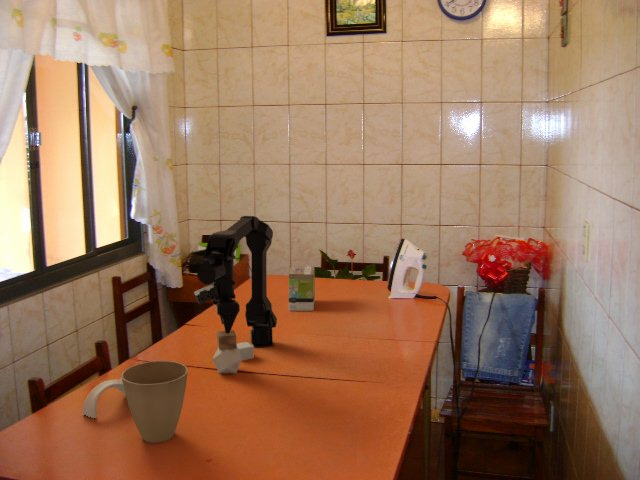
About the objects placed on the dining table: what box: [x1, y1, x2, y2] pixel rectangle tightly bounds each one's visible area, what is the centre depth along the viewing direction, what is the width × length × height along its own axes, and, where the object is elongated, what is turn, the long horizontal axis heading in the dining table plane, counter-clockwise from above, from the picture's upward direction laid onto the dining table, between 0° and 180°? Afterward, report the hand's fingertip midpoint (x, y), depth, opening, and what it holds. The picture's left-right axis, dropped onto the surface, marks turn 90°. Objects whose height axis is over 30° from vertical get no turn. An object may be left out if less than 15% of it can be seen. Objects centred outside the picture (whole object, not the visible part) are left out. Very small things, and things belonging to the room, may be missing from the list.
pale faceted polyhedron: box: [212, 345, 243, 374], centre depth 204 cm, size 8×9×10 cm
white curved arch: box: [82, 378, 126, 419], centre depth 183 cm, size 24×12×7 cm, turn 148°
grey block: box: [236, 341, 255, 361], centre depth 217 cm, size 5×5×4 cm
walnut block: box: [216, 329, 237, 350], centre depth 203 cm, size 5×5×4 cm
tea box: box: [288, 266, 316, 312], centre depth 274 cm, size 15×10×15 cm, turn 179°
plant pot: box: [121, 360, 189, 444], centre depth 162 cm, size 15×15×16 cm
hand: (225, 328), depth 203 cm, fingers open, 9 cm apart
